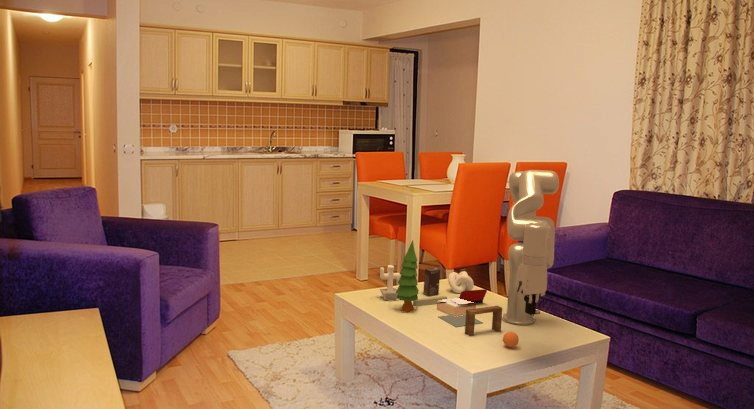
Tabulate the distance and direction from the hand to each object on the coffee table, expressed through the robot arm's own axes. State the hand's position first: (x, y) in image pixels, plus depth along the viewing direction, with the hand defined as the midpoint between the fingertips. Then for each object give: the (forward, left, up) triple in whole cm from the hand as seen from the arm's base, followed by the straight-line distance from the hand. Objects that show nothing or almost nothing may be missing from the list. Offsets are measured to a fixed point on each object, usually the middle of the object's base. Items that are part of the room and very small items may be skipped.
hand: (530, 313), depth 204 cm
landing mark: (0, -40, -15) cm, 43 cm away
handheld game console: (-17, -59, -16) cm, 63 cm away
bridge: (0, -25, -15) cm, 29 cm away
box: (-8, -75, -15) cm, 77 cm away
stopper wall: (0, -63, -15) cm, 65 cm away
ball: (0, -9, -12) cm, 15 cm away
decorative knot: (-23, -75, -15) cm, 80 cm away
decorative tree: (+14, -59, -15) cm, 63 cm away
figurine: (+13, -76, -15) cm, 79 cm away
